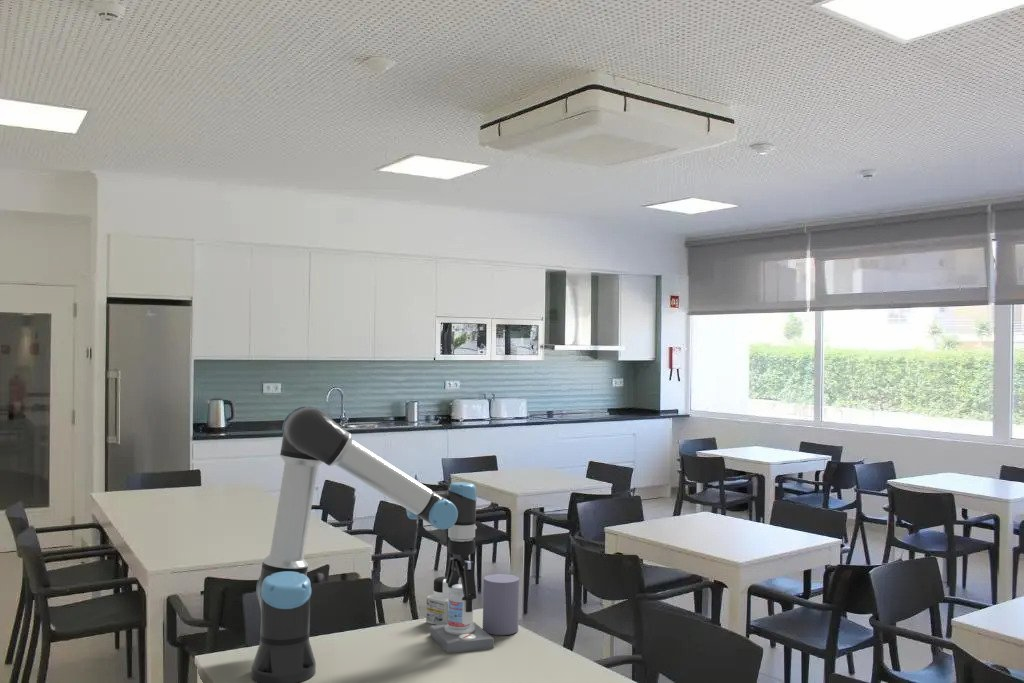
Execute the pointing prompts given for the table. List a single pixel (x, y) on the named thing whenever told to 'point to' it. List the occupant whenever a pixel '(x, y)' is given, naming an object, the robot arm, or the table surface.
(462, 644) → the scale
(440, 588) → the container
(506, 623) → the container
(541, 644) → the table surface
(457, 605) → the pill bottle
